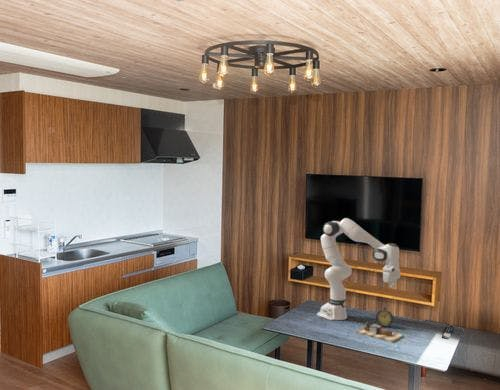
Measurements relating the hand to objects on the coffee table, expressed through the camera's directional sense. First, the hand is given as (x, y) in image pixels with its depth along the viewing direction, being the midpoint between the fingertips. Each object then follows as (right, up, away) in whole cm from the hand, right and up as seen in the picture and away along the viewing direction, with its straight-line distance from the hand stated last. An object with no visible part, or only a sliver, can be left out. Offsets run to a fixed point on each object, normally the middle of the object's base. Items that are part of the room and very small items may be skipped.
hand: (391, 286), depth 329 cm
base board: (-11, -30, -11) cm, 34 cm away
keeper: (-14, -29, -9) cm, 33 cm away
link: (-13, -28, -10) cm, 32 cm away
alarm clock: (-3, -29, +6) cm, 30 cm away
